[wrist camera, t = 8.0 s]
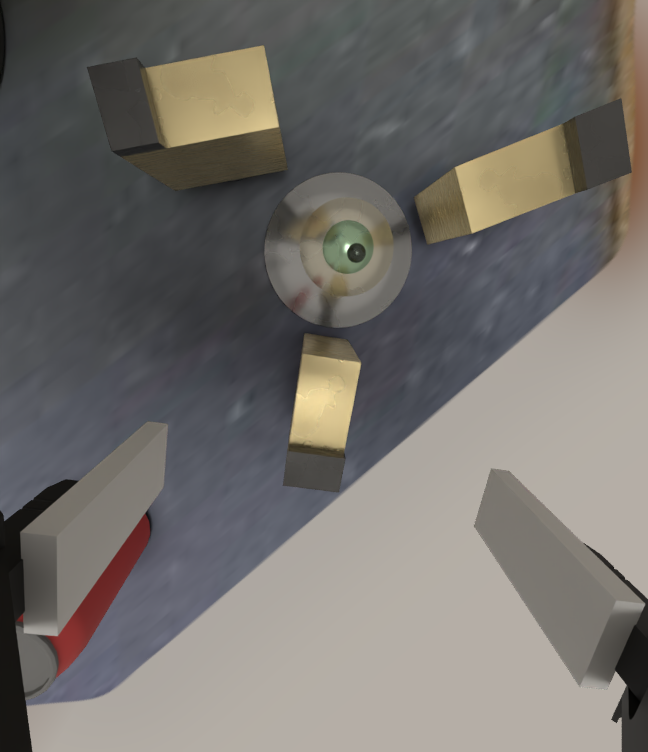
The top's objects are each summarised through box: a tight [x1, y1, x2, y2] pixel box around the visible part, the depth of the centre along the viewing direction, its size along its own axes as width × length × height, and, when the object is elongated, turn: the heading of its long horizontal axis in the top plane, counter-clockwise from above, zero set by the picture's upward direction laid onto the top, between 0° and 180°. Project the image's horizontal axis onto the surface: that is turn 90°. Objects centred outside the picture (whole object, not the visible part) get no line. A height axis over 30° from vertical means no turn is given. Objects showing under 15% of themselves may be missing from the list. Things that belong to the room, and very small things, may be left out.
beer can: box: [15, 514, 150, 700], centre depth 26 cm, size 7×7×12 cm
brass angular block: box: [414, 99, 632, 244], centre depth 20 cm, size 7×3×8 cm, turn 111°
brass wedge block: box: [283, 333, 361, 492], centre depth 23 cm, size 7×3×8 cm, turn 171°
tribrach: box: [231, 173, 412, 328], centre depth 23 cm, size 18×16×8 cm
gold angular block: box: [87, 45, 288, 191], centre depth 19 cm, size 7×3×8 cm, turn 100°
